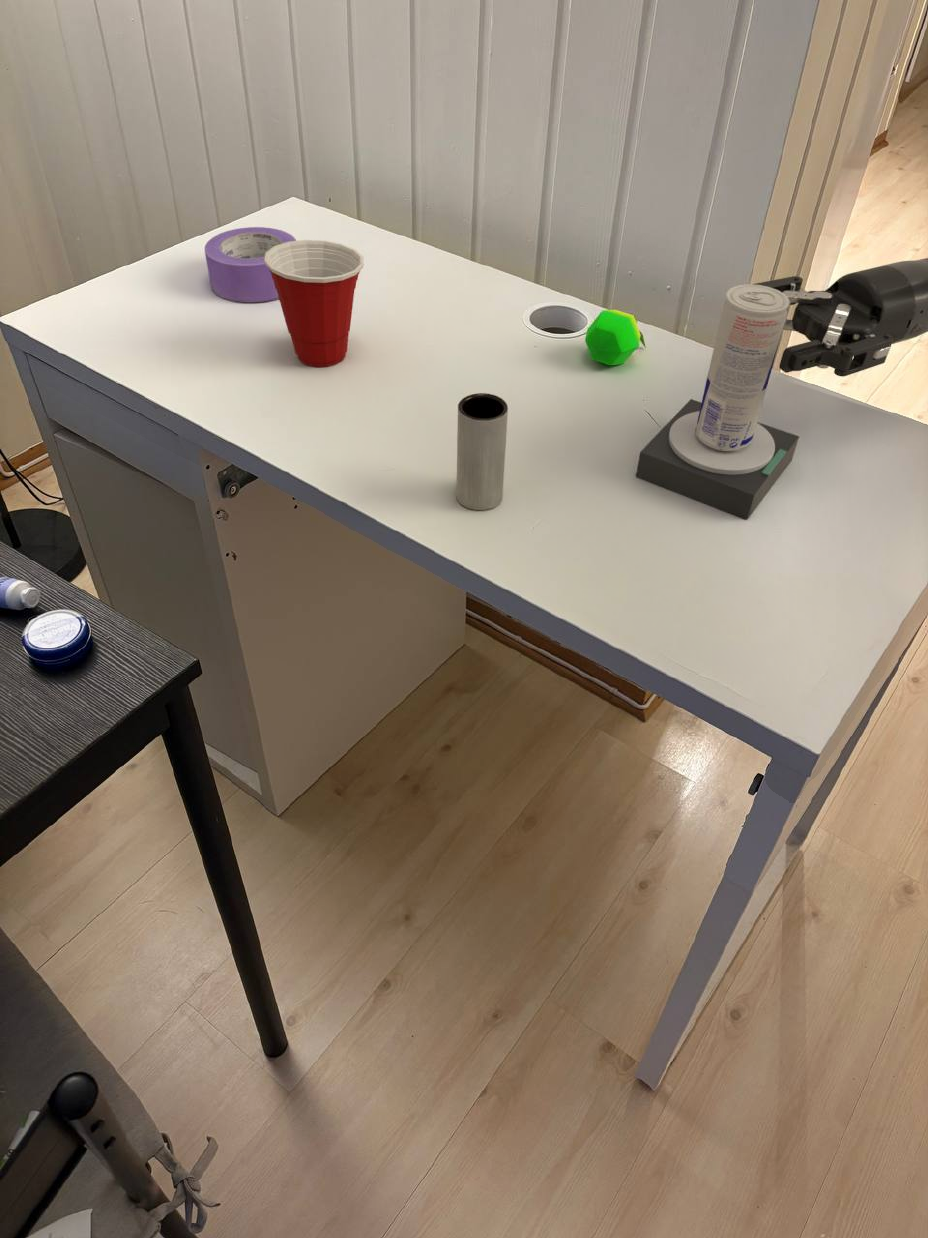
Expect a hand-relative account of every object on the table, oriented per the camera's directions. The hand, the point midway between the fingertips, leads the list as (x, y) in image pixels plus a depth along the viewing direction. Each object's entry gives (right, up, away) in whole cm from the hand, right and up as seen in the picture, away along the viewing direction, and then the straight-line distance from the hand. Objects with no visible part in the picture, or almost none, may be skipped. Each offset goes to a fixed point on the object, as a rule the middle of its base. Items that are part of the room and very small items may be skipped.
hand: (753, 339), depth 88 cm
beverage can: (-1, -8, +7) cm, 11 cm away
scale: (-1, -10, +10) cm, 14 cm away
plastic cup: (-43, +5, +25) cm, 50 cm away
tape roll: (-54, +18, +37) cm, 68 cm away
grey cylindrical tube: (-25, -14, +6) cm, 29 cm away
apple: (-9, +5, +26) cm, 28 cm away
